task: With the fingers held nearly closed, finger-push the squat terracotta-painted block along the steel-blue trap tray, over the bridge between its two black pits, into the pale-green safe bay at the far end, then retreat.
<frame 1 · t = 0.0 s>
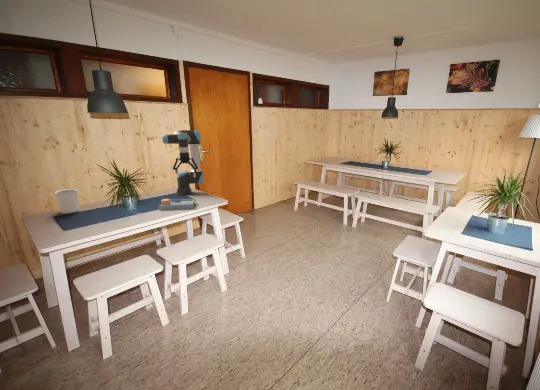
hand: (186, 177, 220), 28 cm above the table, fingers open, 13 cm apart
utensil holder: (70, 211, 222), on the table
block: (165, 204, 232), point 2 cm above the table, touching trap tray
trap tray: (177, 206, 234), on the table
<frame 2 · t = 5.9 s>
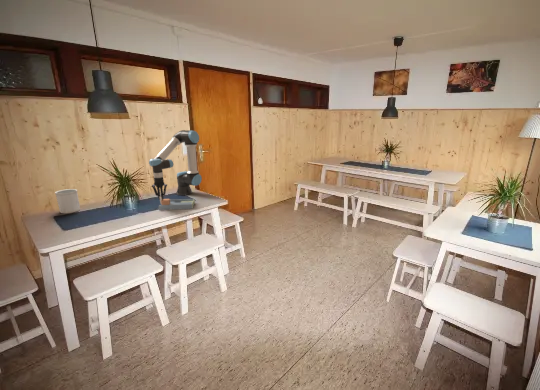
hand: (161, 202, 231), 4 cm above the table, fingers closed
block: (166, 204, 232), point 3 cm above the table, touching gripper
everything else where it was.
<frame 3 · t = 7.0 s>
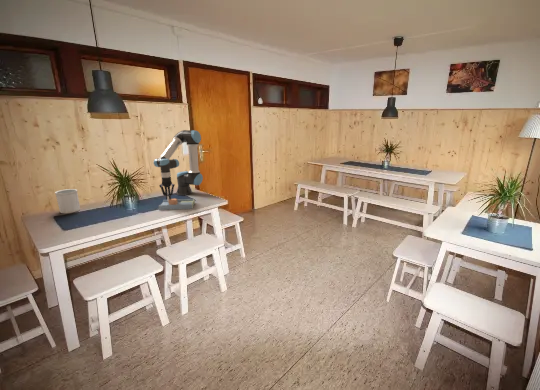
hand: (169, 202, 232), 4 cm above the table, fingers closed
block: (173, 203, 232), point 3 cm above the table, touching gripper, trap tray
everything else where it was.
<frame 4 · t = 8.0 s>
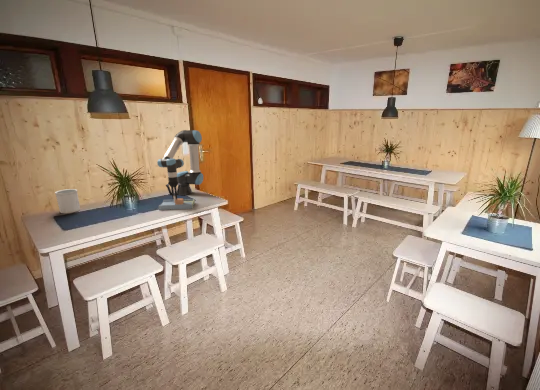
hand: (175, 202, 232), 4 cm above the table, fingers closed
block: (179, 203, 233), point 3 cm above the table, touching gripper, trap tray
everything else where it was.
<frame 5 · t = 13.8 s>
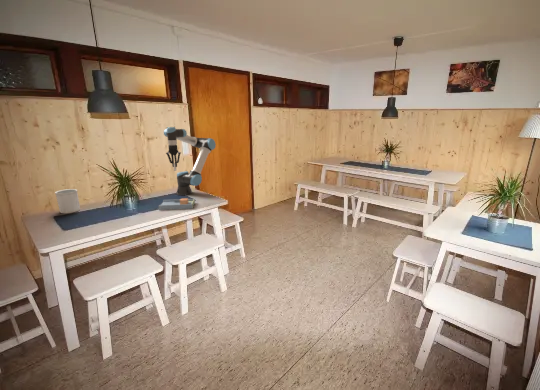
hand: (175, 170, 241), 29 cm above the table, fingers closed
block: (184, 203, 233), point 2 cm above the table, touching trap tray
everything else where it was.
at the end: block 1.9 cm from the target spot on the trap tray, point 2.5 cm above the trap tray's base; block tilted 0° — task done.
